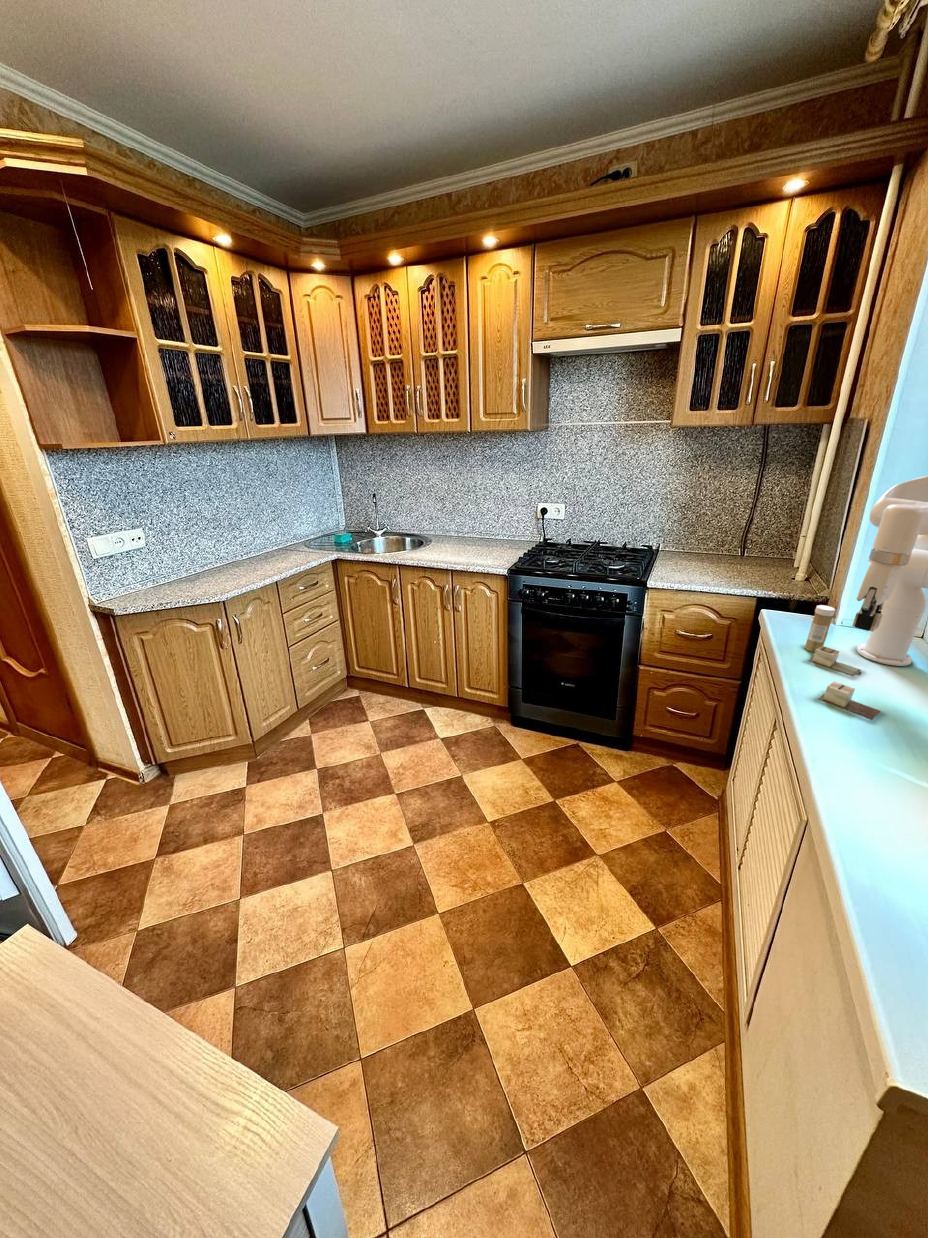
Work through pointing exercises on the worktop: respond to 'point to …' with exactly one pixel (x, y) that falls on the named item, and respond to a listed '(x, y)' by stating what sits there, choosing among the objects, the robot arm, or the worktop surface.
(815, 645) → the sprinkles bottle
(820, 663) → the beige narrow stepped slab
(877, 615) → the small square block
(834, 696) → the near stepped slab
